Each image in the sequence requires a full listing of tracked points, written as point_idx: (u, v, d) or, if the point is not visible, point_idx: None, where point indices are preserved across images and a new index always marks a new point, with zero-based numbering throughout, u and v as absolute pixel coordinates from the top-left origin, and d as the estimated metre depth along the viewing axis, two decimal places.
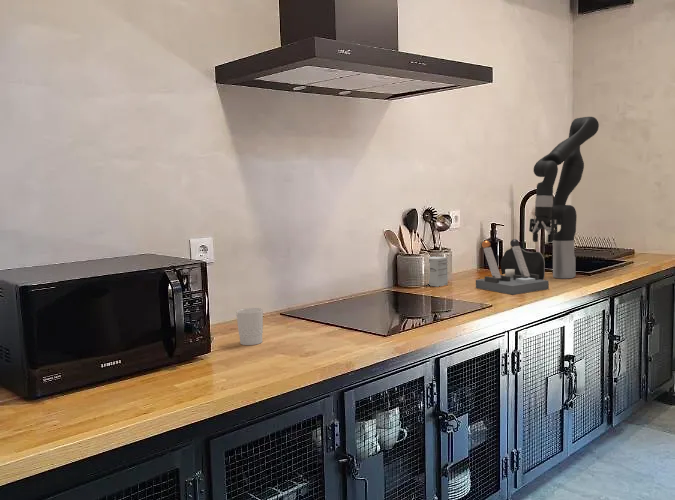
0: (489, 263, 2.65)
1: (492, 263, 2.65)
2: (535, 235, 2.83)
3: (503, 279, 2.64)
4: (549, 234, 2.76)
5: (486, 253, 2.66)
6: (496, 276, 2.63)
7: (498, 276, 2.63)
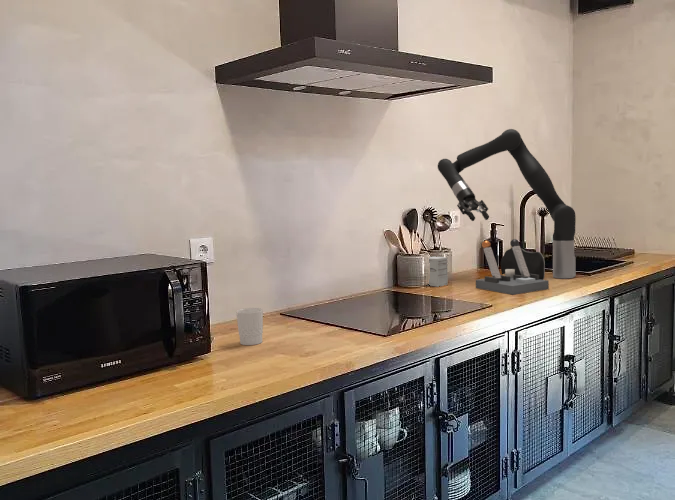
0: (489, 263, 2.65)
1: (492, 263, 2.65)
2: (483, 214, 2.82)
3: (503, 279, 2.64)
4: None
5: (486, 253, 2.66)
6: (496, 276, 2.63)
7: (498, 276, 2.63)
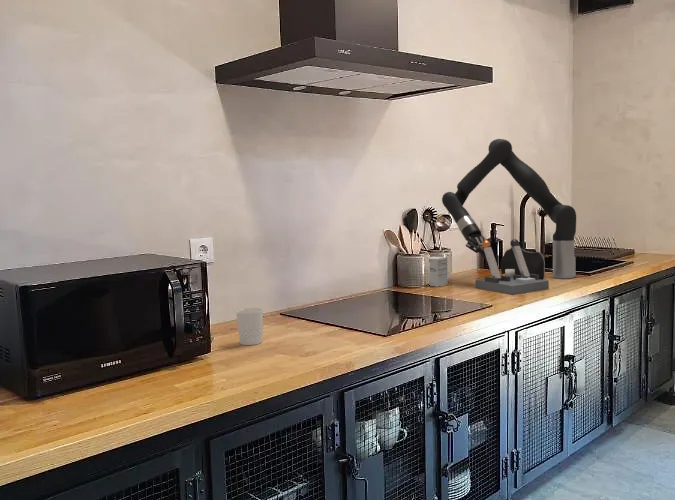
0: (489, 263, 2.65)
1: (492, 263, 2.65)
2: None
3: (503, 279, 2.64)
4: None
5: (486, 253, 2.66)
6: (496, 276, 2.63)
7: (498, 276, 2.63)
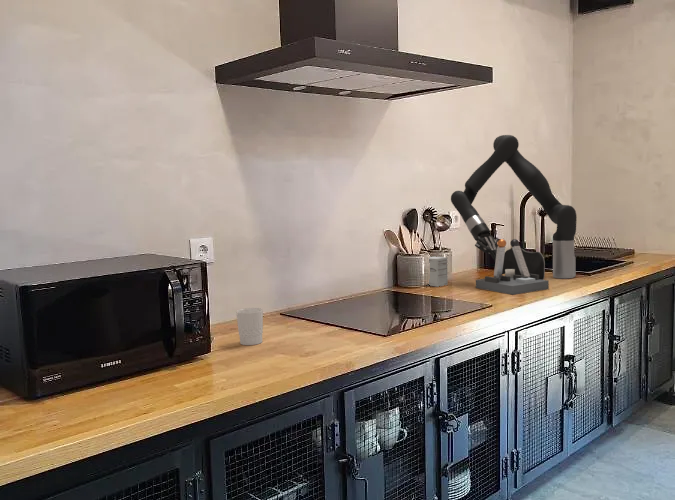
0: (496, 263, 2.61)
1: (499, 264, 2.61)
2: None
3: (503, 279, 2.64)
4: None
5: (498, 252, 2.60)
6: (497, 277, 2.62)
7: (499, 277, 2.63)
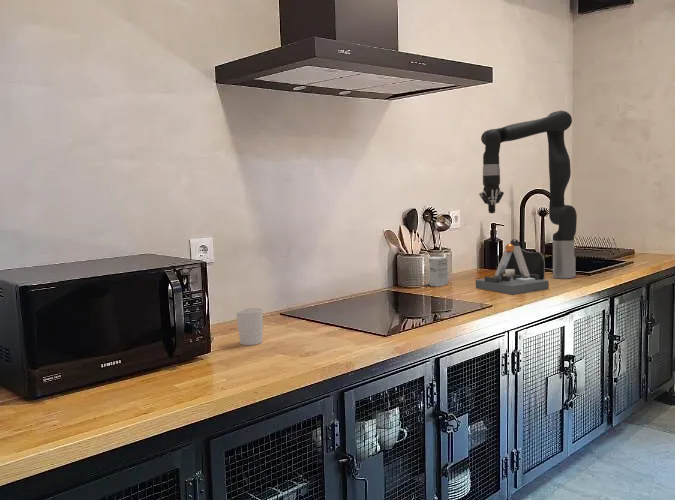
0: (500, 265, 2.59)
1: (502, 267, 2.59)
2: None
3: (503, 279, 2.64)
4: None
5: (504, 256, 2.57)
6: None
7: (499, 278, 2.63)
